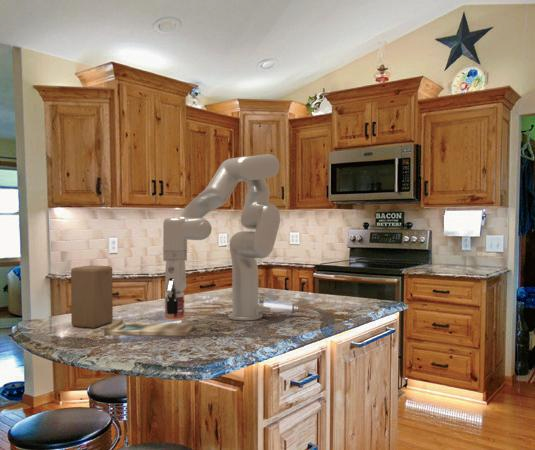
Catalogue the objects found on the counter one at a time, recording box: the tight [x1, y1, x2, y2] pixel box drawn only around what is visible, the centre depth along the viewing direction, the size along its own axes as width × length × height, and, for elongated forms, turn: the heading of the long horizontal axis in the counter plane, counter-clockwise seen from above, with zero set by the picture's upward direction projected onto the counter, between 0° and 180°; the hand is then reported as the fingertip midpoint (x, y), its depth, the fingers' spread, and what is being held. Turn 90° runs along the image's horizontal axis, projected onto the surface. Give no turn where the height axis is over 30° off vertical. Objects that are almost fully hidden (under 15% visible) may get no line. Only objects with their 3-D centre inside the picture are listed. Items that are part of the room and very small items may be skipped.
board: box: [103, 319, 196, 337], centre depth 148 cm, size 26×12×2 cm, turn 88°
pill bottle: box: [164, 289, 185, 322], centre depth 147 cm, size 6×6×11 cm
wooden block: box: [70, 265, 114, 329], centre depth 158 cm, size 10×10×20 cm
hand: (174, 311), depth 147 cm, fingers closed on pill bottle, 6 cm apart
